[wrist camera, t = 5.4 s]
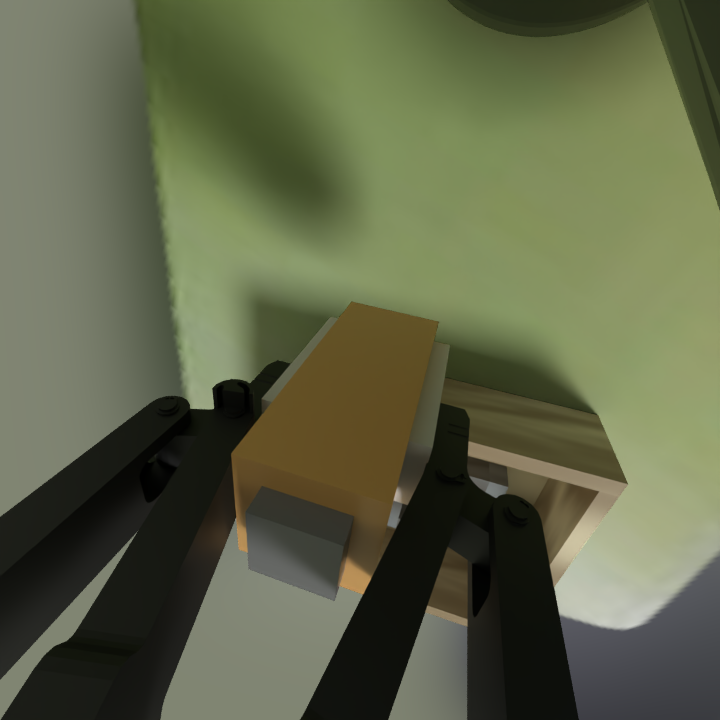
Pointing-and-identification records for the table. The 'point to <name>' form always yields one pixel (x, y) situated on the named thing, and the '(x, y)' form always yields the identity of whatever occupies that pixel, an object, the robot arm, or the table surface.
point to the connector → (332, 453)
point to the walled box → (528, 477)
